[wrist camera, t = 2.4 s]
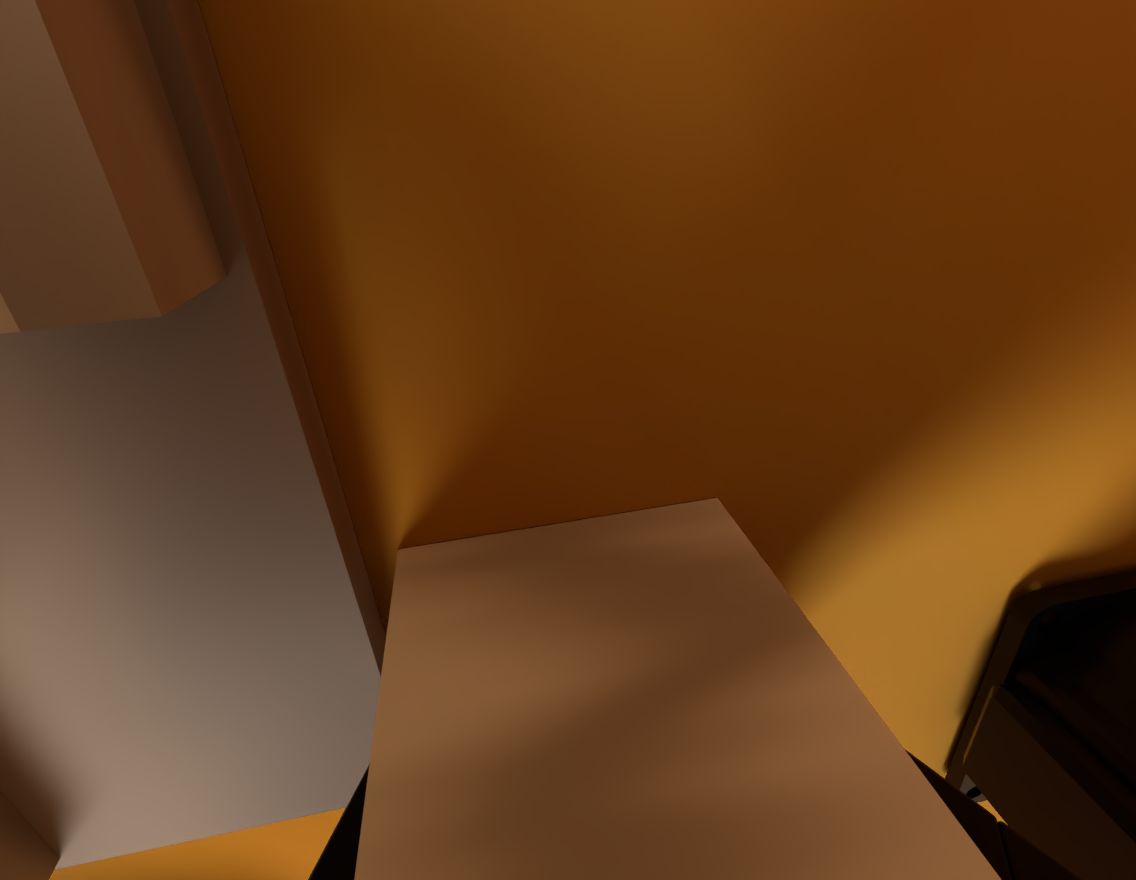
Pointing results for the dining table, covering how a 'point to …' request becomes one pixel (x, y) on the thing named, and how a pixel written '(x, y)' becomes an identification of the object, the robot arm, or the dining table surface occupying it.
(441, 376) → the dining table surface
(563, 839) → the oak block
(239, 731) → the walnut base board
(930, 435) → the dining table surface
